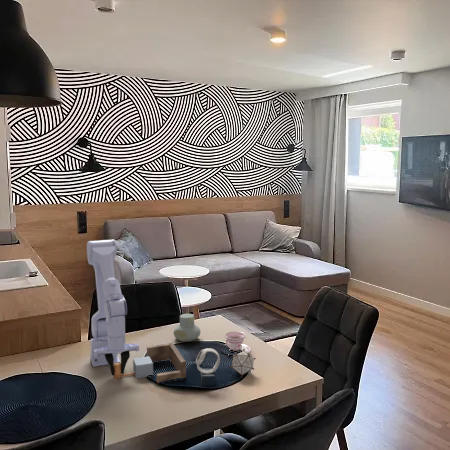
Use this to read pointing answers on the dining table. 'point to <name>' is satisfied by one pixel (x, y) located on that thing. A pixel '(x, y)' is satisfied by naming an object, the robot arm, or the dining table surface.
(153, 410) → the dining table surface
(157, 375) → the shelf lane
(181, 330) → the air freshener
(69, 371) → the dining table surface
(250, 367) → the game die
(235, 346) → the teacup
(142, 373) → the pull block
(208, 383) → the watch
